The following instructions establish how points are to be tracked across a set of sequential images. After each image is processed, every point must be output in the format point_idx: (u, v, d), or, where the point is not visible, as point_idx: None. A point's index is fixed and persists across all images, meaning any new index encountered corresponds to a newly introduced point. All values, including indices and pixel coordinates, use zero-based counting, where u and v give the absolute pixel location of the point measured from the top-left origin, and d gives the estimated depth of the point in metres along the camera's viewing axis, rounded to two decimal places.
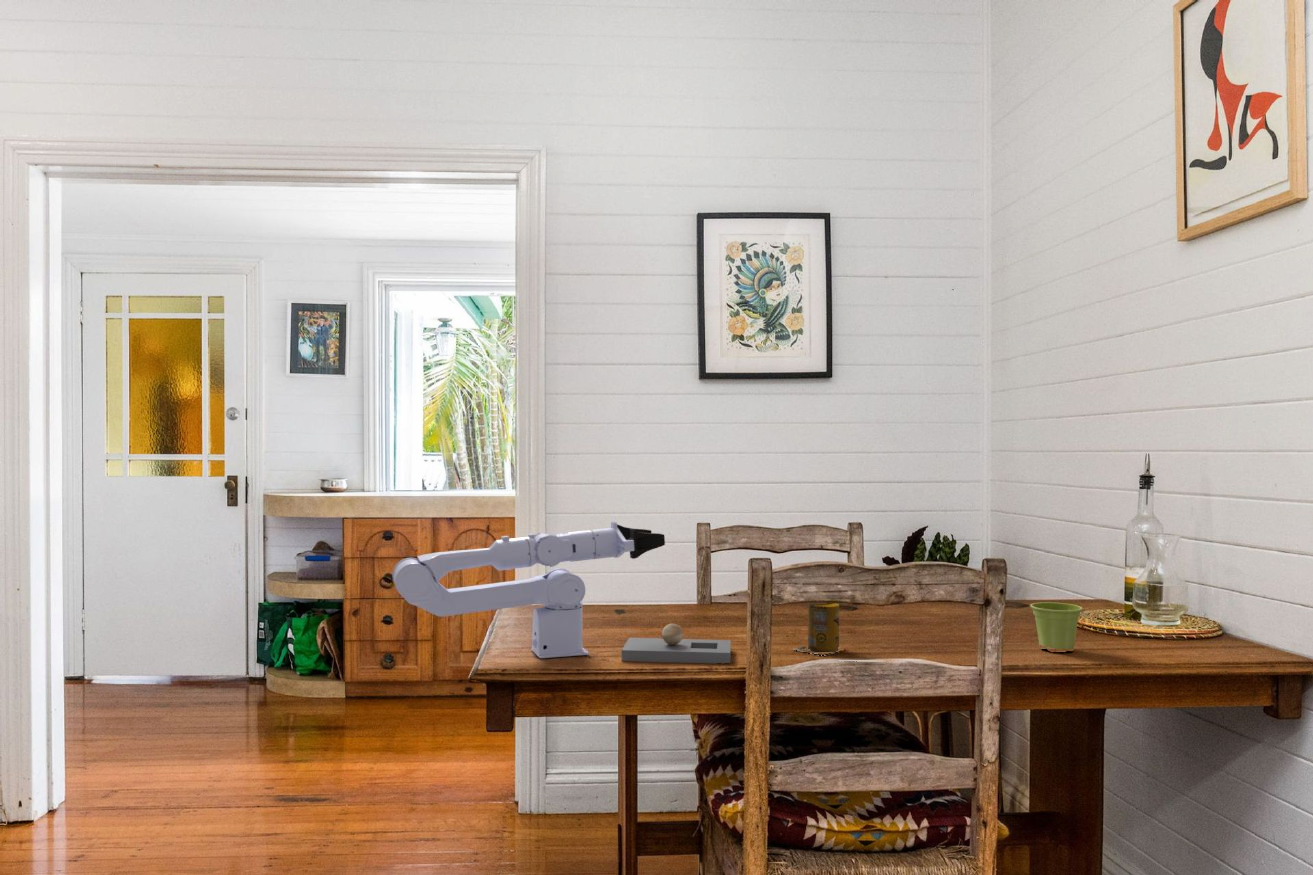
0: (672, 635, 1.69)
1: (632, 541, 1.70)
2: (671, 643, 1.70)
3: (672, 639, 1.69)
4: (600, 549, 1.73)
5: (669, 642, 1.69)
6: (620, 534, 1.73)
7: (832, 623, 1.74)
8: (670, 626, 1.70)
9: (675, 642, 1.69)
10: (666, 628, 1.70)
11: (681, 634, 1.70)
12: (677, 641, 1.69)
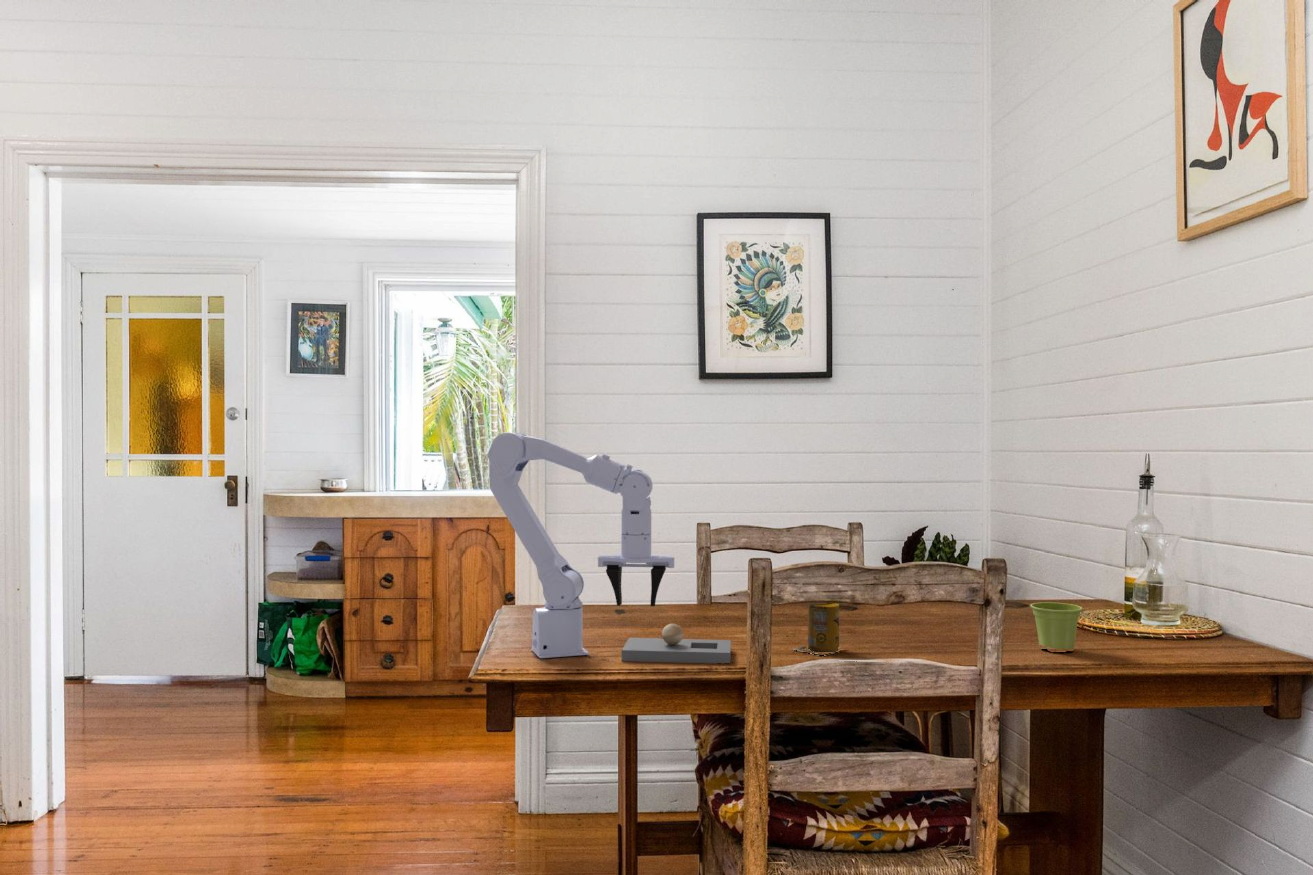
0: (672, 635, 1.69)
1: (598, 565, 1.72)
2: (671, 643, 1.70)
3: (672, 639, 1.69)
4: None
5: (669, 642, 1.69)
6: (615, 559, 1.70)
7: (832, 623, 1.74)
8: (670, 626, 1.70)
9: (675, 642, 1.69)
10: (666, 628, 1.70)
11: (681, 634, 1.70)
12: (677, 641, 1.69)
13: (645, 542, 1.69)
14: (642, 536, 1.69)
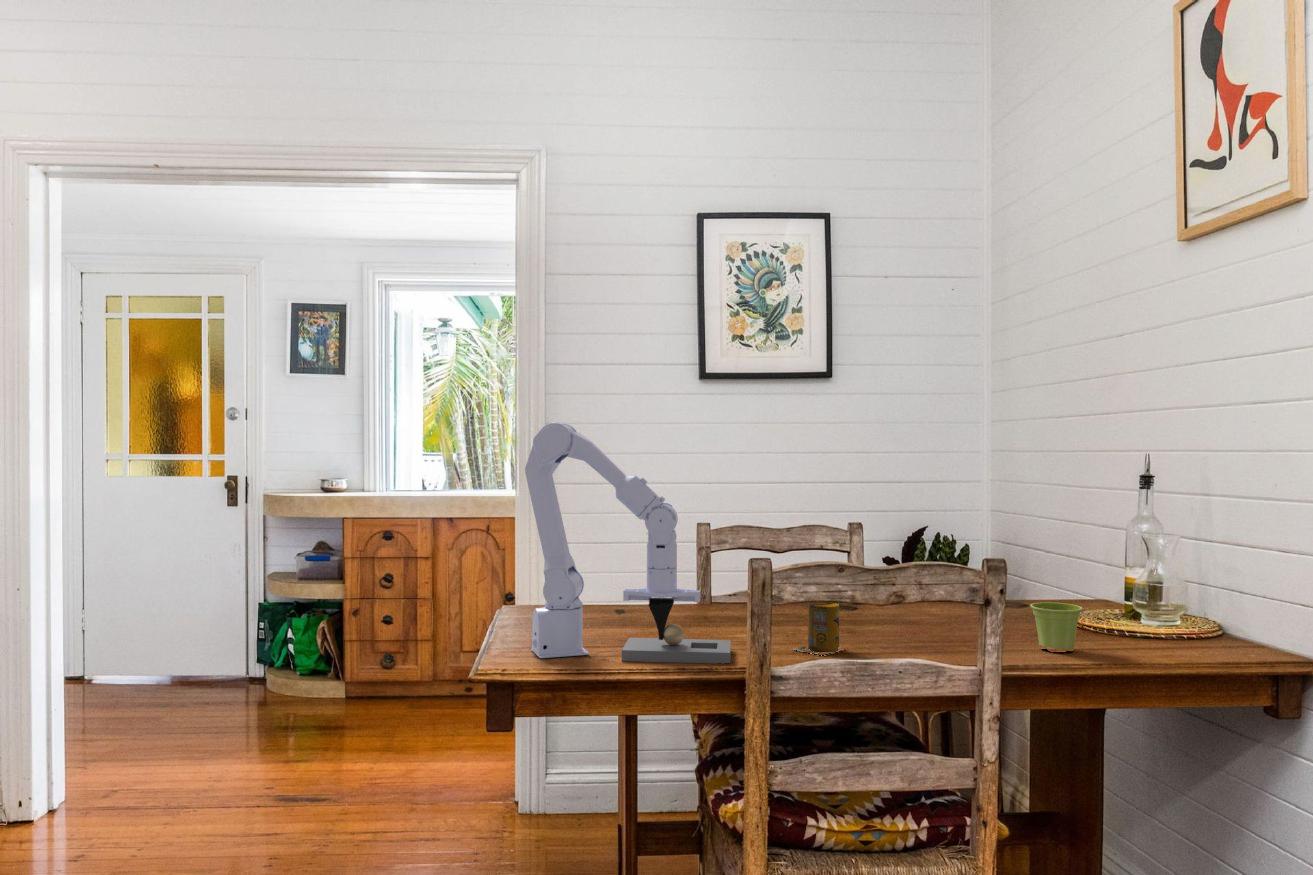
0: (673, 635, 1.69)
1: None
2: (671, 643, 1.70)
3: (673, 640, 1.69)
4: None
5: (669, 642, 1.69)
6: (641, 593, 1.70)
7: (832, 623, 1.74)
8: (671, 626, 1.70)
9: (675, 643, 1.69)
10: (668, 628, 1.70)
11: (682, 635, 1.70)
12: (677, 642, 1.69)
13: (670, 576, 1.69)
14: (668, 570, 1.69)
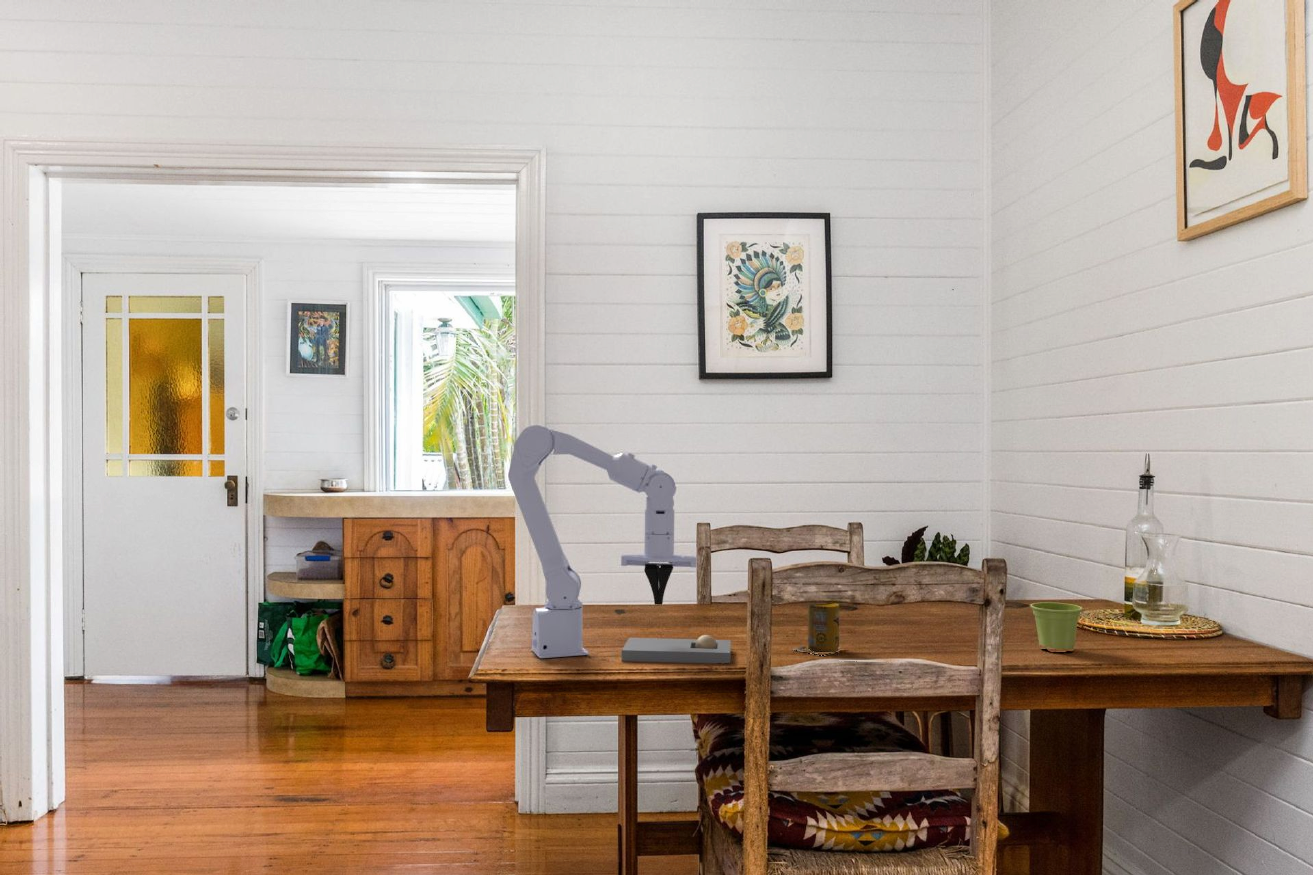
0: (704, 648, 1.68)
1: None
2: (711, 641, 1.69)
3: (707, 644, 1.68)
4: None
5: (711, 643, 1.69)
6: (639, 558, 1.72)
7: (832, 623, 1.74)
8: None
9: (707, 639, 1.69)
10: None
11: (697, 641, 1.70)
12: (705, 639, 1.69)
13: (668, 541, 1.72)
14: (665, 536, 1.71)
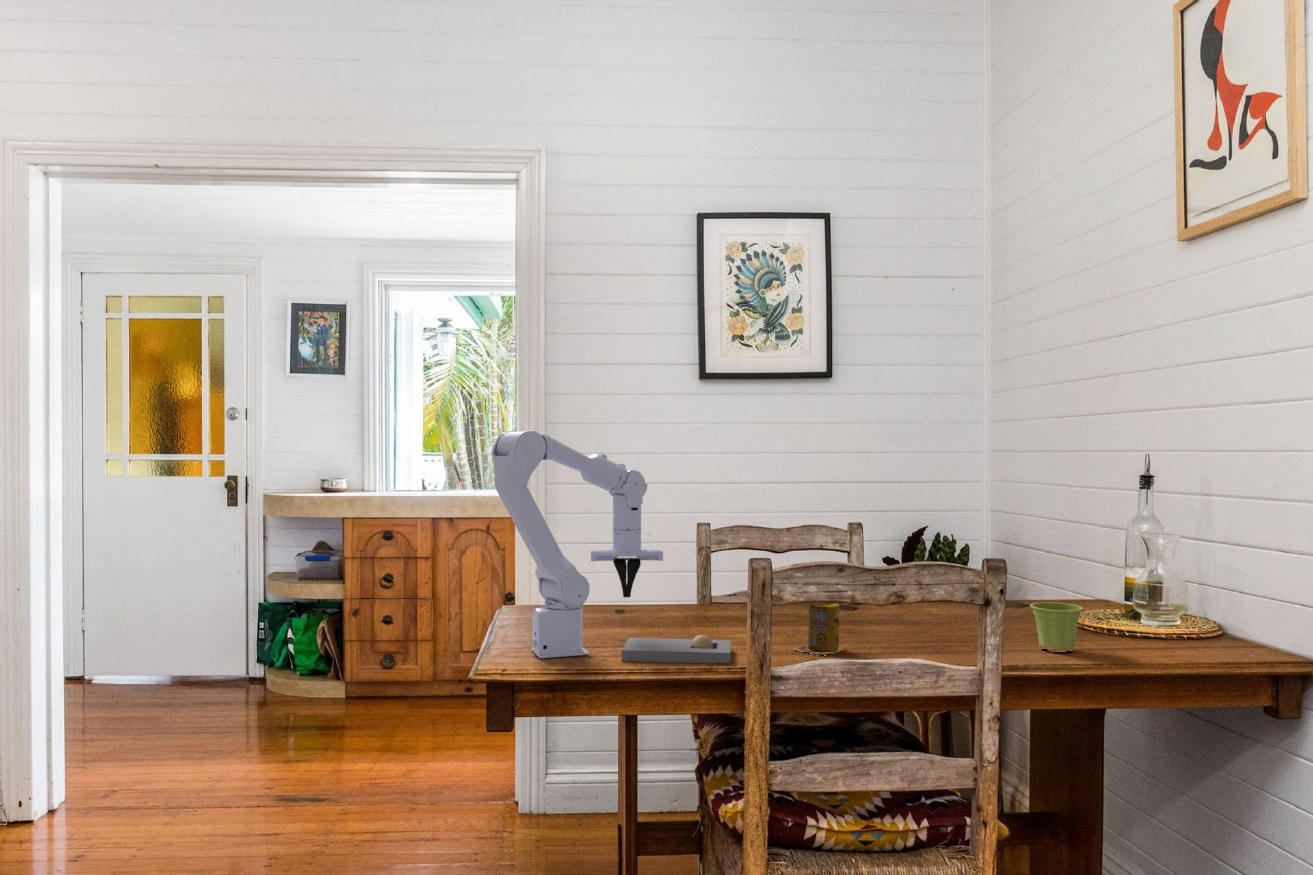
0: None
1: (591, 559, 1.80)
2: (704, 639, 1.69)
3: (701, 643, 1.68)
4: None
5: (705, 641, 1.69)
6: (609, 554, 1.79)
7: (832, 623, 1.74)
8: None
9: (699, 639, 1.69)
10: None
11: (692, 644, 1.70)
12: (697, 639, 1.69)
13: (637, 536, 1.80)
14: (635, 531, 1.79)
